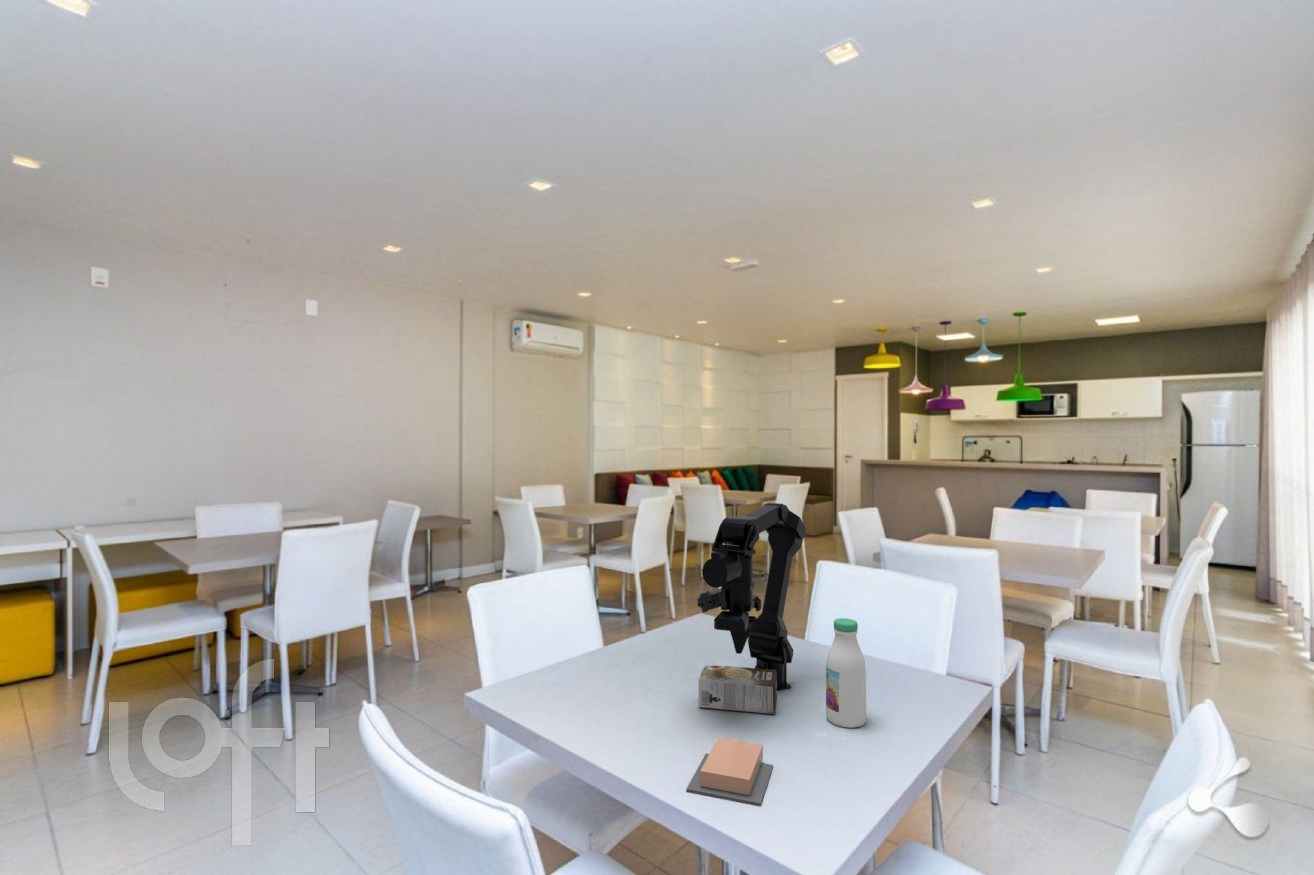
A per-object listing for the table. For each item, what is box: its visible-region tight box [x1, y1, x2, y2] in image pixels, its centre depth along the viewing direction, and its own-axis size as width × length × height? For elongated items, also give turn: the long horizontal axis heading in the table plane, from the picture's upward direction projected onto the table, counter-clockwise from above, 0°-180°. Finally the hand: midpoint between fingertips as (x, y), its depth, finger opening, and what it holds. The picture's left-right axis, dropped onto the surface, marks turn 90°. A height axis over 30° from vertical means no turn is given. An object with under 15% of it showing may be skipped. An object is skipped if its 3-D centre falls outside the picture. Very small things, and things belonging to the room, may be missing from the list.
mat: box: [685, 753, 774, 807], centre depth 104 cm, size 12×12×1 cm
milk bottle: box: [825, 617, 867, 729], centre depth 125 cm, size 8×8×20 cm
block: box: [700, 737, 764, 796], centre depth 105 cm, size 3×8×12 cm
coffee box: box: [698, 664, 778, 715], centre depth 133 cm, size 9×6×16 cm
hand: (738, 653), depth 130 cm, fingers closed
